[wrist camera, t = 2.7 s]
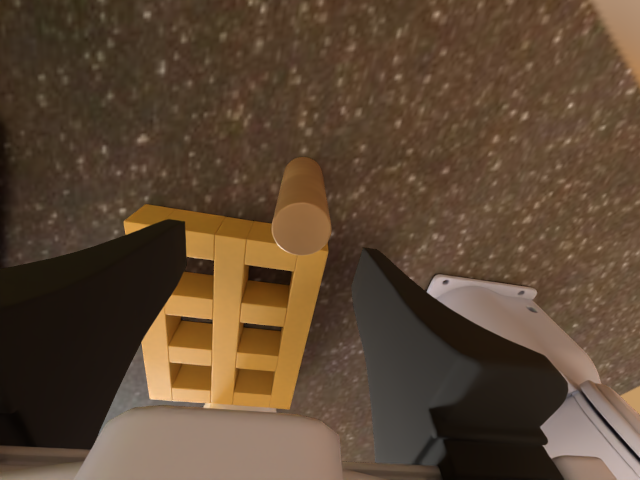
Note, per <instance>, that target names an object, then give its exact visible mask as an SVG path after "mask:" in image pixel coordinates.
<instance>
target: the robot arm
mask: <svg viewBox="0 0 640 480" xmlns="http://www.w3.org/2000/svg"><path fill="white" fill-rule="evenodd" d="M186 265H187V256H186V231H185V221H179V220H172V219H167V220H163V221H160V222H158V223H155V224H152V225H150V226H147V227H145V228H142V229H140V230H137V231H135V232H132V233H130V234H127V235H125V236H122V237H119V238H116V239H114V240H111V241H108V242H105V243H102V244H99V245H97V246H94V247H91V248H87V249H84V250H81V251H77V252H74V253H70V254H66V255H63V256H59V257H55V258H51V259H46V260H42V261H37V262H32V263H28V264H23V265H18V266H14V267H8V268H3V269H0V480H640V415H639V414H638V413H637V412H636V411H635V410H634V409H633V408H632V407H631V406H630V405H629V404H628V403H627V402H626V401H625V400H624V399H623V398H622V397H620V396H619V395H618V394H617V393H616V392H615V391H614V390H613V389H611V388H610V387H609V386H607V385H603V384H601V381H600V378H599V375H598V372H597V370H596V367H595V366H594V364H593V362H592V360H591V359H590V357H589V356H588V355H587V354H586V352H585V351H584V350H583V349H582V348H581V347H580V346H579V345H578V344H577V343H576V342H575V341H574V340H572V339H571V338H570V337H569V336H568V335H567V334H566V333H565V332H564V331H563V330H562V329H561V328H560V327H559V326H558V325H557V324H556V323H555V322H554V321H553V320H552V319H551V318H550V317H549V316H548V315H547V314H546V313H545V312H544V311H543V310H542V309H541V308H540V307H539V306H538V305H537V304H536V303H535V302H534V301H533V299H534V298H535V296H536V294H537V291H536V290H535V289H534V288H532V287H525V286H518V285H511V284H504V283H497V282H490V281H483V280H477V279H470V278H463V277H456V276H449V275H442V274H438V275H436V276H434V278H433V279H432V281H431V283H430V286H429V288H428V290H427V292H426V291H425V290H423V289H422V288H421V287H420V286H418V285H417V284H416V283H415V282H413V281H412V280H411V279H410V278H409V277H408V276H407V275H405V274H404V273H403V272H402V271H401V270H400V269H399V268H398V267H397V266H395V265H394V264H393V263H392V262H391V261H390V260H389V259H388V258H387V257H386V256H385V255H383V254H382V253H381V252H380V251H379V250H377V249H370V248H363V250H362V253H361V256H360V260H359V263H358V266H357V269H356V273H355V276H354V279H353V282H352V299H353V307H354V312H355V316H356V321H357V325H358V329H359V333H360V337H361V341H362V346H363V350H364V355H365V360H366V366H367V374H368V382H369V391H370V401H371V410H372V422H373V435H374V449H375V463H366V462H344V461H341V451H340V440H339V435H338V434H337V433H336V432H335V431H333V430H332V429H331V428H330V427H328V426H327V425H326V424H324V423H323V422H322V421H321V420H319V419H315V418H311V417H307V416H302V415H298V414H290V413H275V412H260V411H245V410H230V409H215V408H200V407H185V406H170V405H158V406H146V407H135V408H133V409H130V410H128V411H126V412H124V413H122V414H120V415H119V416H117V417H115V418H113V419H111V420H109V421H108V422H107V423H106V425H105V426H104V428H103V430H102V432H101V433H100V435H99V437H98V438H97V436H98V434H99V431H100V429H101V426H102V424H103V422H104V420H105V417H106V415H107V413H108V411H109V408H110V406H111V404H112V402H113V399H114V397H115V395H116V393H117V391H118V388H119V386H120V384H121V382H122V380H123V378H124V376H125V374H126V372H127V370H128V367H129V365H130V363H131V361H132V360H133V358H134V356H135V354H136V352H137V350H138V348H139V346H140V344H141V342H142V340H143V338H144V337H145V335H146V333H147V332H148V330H149V328H150V327H151V325H152V324H153V322H154V321H155V319H156V318H157V316H158V315H159V313H160V312H161V310H162V309H163V307H164V306H165V304H166V303H167V301H168V299H169V298H170V296H171V295H172V293H173V292H174V290H175V289H176V287H177V285H178V283H179V281H180V279H181V277H182V275H183V272H184V270H185V268H186ZM445 280H446V281H445ZM443 281H445V282H443ZM96 438H97V440H96ZM95 441H96V442H95ZM94 443H95V444H94Z"/></svg>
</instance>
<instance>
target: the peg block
mask: <svg viewBox="0 0 640 480" xmlns="http://www.w3.org/2000/svg"><path fill="white" fill-rule="evenodd" d="M167 219H172V220H179V221H185V231H186V256H187V257H193V258H200V259H208V260H214V275H207V274H199V273H191V272H183V275H182V277H181V279H180V281H179V283H178V285H177V287H176V289H175V290H174V292H173V293H172V295H171V296H170V298H169V299H168V301H167V303H166V304H165V306H164V307H163V309H162V310H161V312H160V313H159V315H158V316H157V318H156V319H155V321H154V322H153V324H152V325H151V327H150V328H149V330H148V332H147V333H146V335H145V337H144V338H143V340H142V349H143V356H144V363H145V369H146V376H147V383H148V390H149V397H150V399H156V400H169V401H172V400H173V401H184V402H198V403H213V404H226V405H232V404H233V405H238V406H252V407H266V408H279V409H290V405H291V401H292V397H293V393H294V389H295V385H296V381H297V377H298V373H299V369H300V365H301V361H302V357H303V353H304V349H305V345H306V341H307V337H308V333H309V329H310V325H311V320H312V316H313V312H314V308H315V304H316V300H317V296H318V292H319V288H320V284H321V280H322V276H323V272H324V268H325V264H326V260H327V256H328V252H329V251H328V244H326V245H325V246H324V247H323V248H322V249H320V250H319V251H317V252H315V253H313V254H310V255H294V254H291V253H288V252H286V251H284V250H283V249H282V248H280V247H279V246H278V244H277V243H276V242H275V240H274V238H273V235H272V229H271V228H272V224H270V223H264V222H257V221H254V222H253V221H250V220H243V219H237V218H230V217H225V216H219V215H213V214H206V213H200V212H193V211H187V210H181V209H174V208H167V207H161V206H155V205H148V204H145V205H144V206H143V207H142V208H140V209H139V210H138V211H136V212H135V213H134V214H133V215H131V216H130V217H129V218H127V219H126V220H125V221H124V227H125V233H126V235H127V234H130V233H132V232H135V231H137V230H140V229H142V228H145V227H147V226H150V225H152V224H155V223H158V222H160V221H163V220H167ZM249 265H252V266H259V267H266V268H274V269H281V270H288V271H292V274H291V279H290V285H282V284H275V283H267V282H259V281H251V280H248V273H249ZM181 316H186V317H195V318H204V319H213V324H209V323H200V322H191V321H181ZM244 323H252V324H261V325H270V326H279V327H282V329H281V331H274V330H265V329H255V328H246V327H244V328H243V326H244Z"/></svg>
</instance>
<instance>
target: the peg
mask: <svg viewBox="0 0 640 480" xmlns="http://www.w3.org/2000/svg"><path fill="white" fill-rule="evenodd" d="M271 229H272V235H273V238H274V240H275V242H276V243H277V244H278V246H279V247H280V248H282V249H283V250H284V251H286V252H288V253H291V254H294V255H310V254H313V253H315V252H317V251H319V250H320V249H322V248H323V247H324V246H325V245H326V244H327V242H328V240H329V238H330V236H331V221H330V215H329V209H328V203H327V198H326V192H325V186H324V180H323V174H322V170H321V168H320V166H319V165H318V163H317V162H316V161H314V160H313V159H311V158H307V157H298V158H295V159H293V160H292V161H290V162H289V163H288V165H287V166H286V168H285V171H284V175H283V179H282V184H281V188H280V192H279V196H278V200H277V205H276V209H275V213H274V217H273V221H272V228H271Z"/></svg>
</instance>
